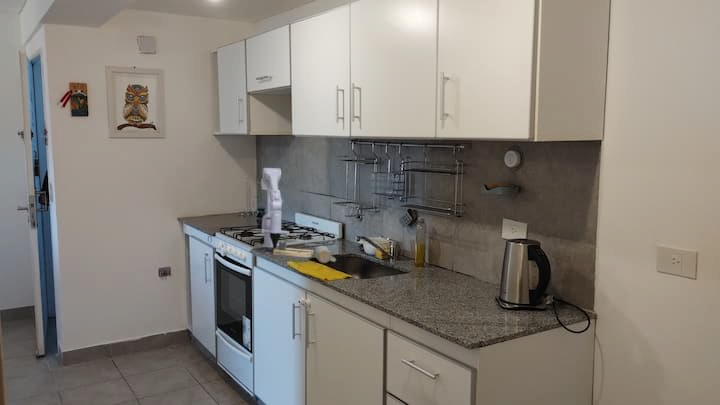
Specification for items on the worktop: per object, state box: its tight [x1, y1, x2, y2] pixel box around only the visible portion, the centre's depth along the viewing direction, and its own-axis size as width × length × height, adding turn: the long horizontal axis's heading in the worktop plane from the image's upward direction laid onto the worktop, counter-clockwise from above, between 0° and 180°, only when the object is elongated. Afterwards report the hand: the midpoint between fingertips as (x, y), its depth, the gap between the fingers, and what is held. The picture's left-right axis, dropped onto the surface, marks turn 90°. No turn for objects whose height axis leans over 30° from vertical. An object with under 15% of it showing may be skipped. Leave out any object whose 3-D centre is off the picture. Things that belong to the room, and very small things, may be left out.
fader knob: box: [278, 240, 287, 250], centre depth 311 cm, size 4×3×4 cm
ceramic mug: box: [314, 245, 337, 264], centre depth 299 cm, size 11×8×8 cm
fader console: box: [272, 246, 314, 258], centre depth 311 cm, size 9×20×2 cm, turn 85°
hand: (274, 247), depth 311 cm, fingers closed
